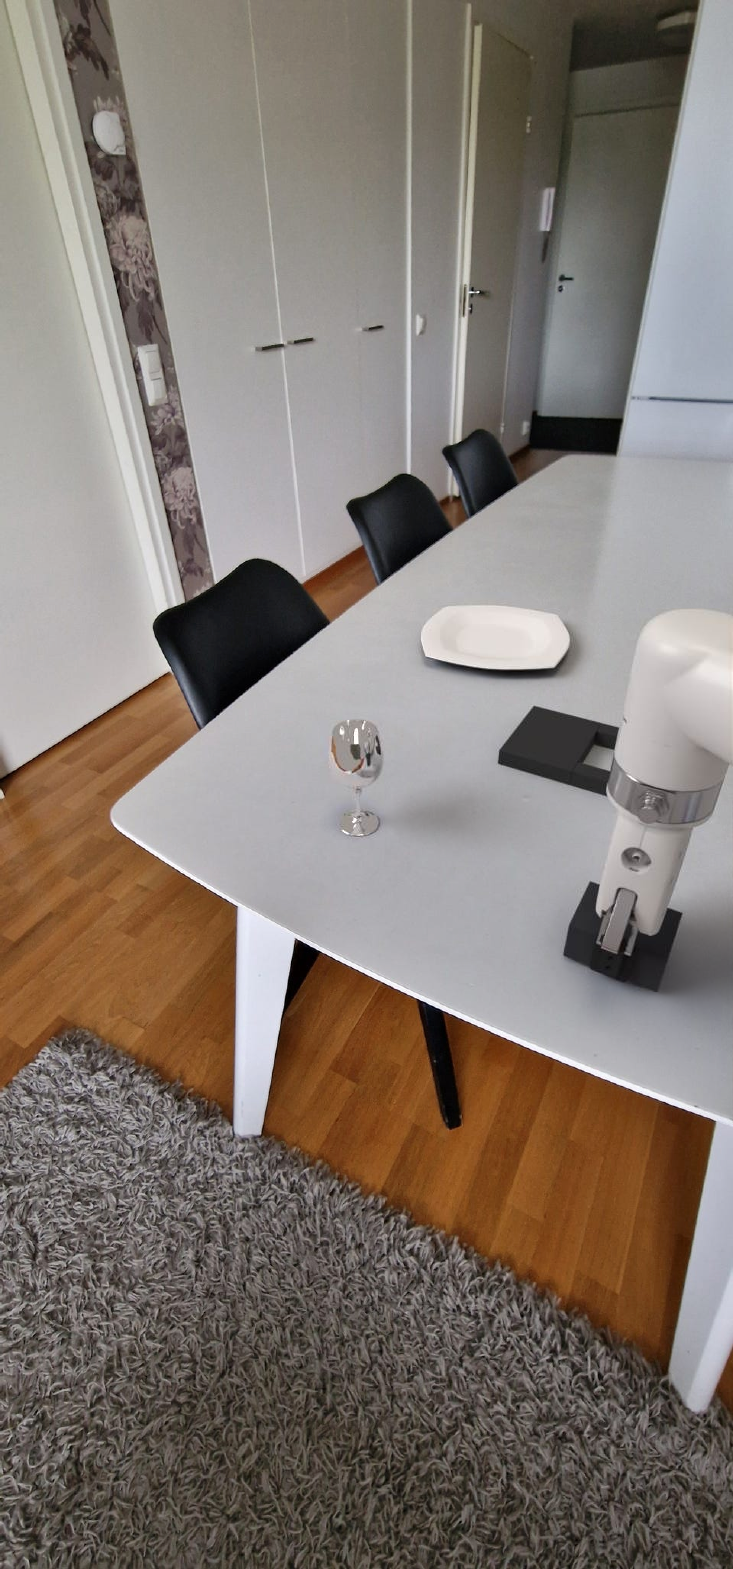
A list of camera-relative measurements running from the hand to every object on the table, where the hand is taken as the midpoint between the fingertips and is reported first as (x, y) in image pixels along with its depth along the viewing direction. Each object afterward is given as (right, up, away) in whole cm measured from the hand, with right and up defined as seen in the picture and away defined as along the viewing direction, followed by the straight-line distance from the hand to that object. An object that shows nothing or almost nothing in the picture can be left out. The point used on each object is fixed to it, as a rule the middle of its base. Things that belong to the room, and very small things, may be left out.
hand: (619, 945), depth 62 cm
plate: (-2, +36, +50) cm, 62 cm away
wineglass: (-23, +10, +16) cm, 30 cm away
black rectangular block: (0, 0, 0) cm, 1 cm away
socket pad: (+4, +18, +25) cm, 31 cm away
